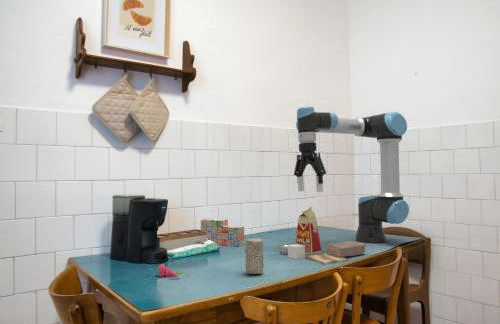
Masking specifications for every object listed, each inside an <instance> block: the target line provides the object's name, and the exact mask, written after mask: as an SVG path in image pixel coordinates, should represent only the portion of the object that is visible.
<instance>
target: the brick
mask: <svg viewBox="0 0 500 324" xmlns="http://www.w3.org/2000/svg"><path fill="white" fill-rule="evenodd" d="M365 252H366V244H365V243H364V242H358V241H357V242H356V241H343V242H332V243H327V244H326V249H325V254H326V253H327V254H328V255H332V256H337V257H343V258H345V257H352V256H359V255H362V254H363V255H364V254H365Z"/></svg>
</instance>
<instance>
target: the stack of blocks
mask: <svg viewBox="0 0 500 324" xmlns="http://www.w3.org/2000/svg"><path fill="white" fill-rule="evenodd" d="M228 224H229V223H228V219H227V218H204V219H200V232H201V231H207V238H208V240H211V241H213V242H215V243H217V244H219V245H218V246H223V247H224V246H226V247H238V248H239V247H242V246H244V245H245V226H244V225H230V224H229V225H228Z"/></svg>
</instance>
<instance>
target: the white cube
mask: <svg viewBox="0 0 500 324" xmlns="http://www.w3.org/2000/svg"><path fill="white" fill-rule="evenodd" d="M305 256H306V254H305V246H303V245H298V244H296V243H295V244H291V245H288V255H287V258H289V259H292V260H301V259H306V258H305Z"/></svg>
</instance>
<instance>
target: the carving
mask: <svg viewBox="0 0 500 324" xmlns="http://www.w3.org/2000/svg"><path fill="white" fill-rule="evenodd" d="M244 245H245V246H244V247H245V248H244V254H245V271H246V273H247V274H249V275H259V274H263V273H264V267H265V266H264V254H263V252H264V241H263V238H257V237H256V238H247V239H246V240H245V244H244Z"/></svg>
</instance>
